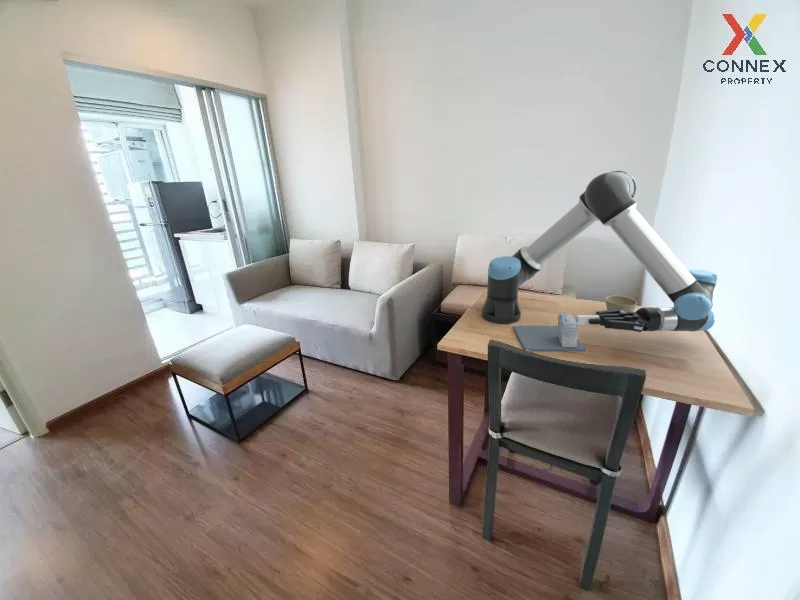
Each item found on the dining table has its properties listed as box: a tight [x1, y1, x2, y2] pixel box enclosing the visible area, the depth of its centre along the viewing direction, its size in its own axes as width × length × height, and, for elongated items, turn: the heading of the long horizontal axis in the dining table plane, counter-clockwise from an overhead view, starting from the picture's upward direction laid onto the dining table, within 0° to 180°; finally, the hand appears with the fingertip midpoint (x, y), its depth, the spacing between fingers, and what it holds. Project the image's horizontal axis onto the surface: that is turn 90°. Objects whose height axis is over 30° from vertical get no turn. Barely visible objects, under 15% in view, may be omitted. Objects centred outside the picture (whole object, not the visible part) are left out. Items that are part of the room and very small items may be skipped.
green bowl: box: [605, 295, 638, 312], centre depth 126 cm, size 10×10×7 cm
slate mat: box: [512, 325, 587, 352], centre depth 115 cm, size 19×17×1 cm
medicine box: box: [557, 313, 579, 347], centre depth 109 cm, size 8×4×9 cm, turn 166°
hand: (577, 319), depth 107 cm, fingers closed
